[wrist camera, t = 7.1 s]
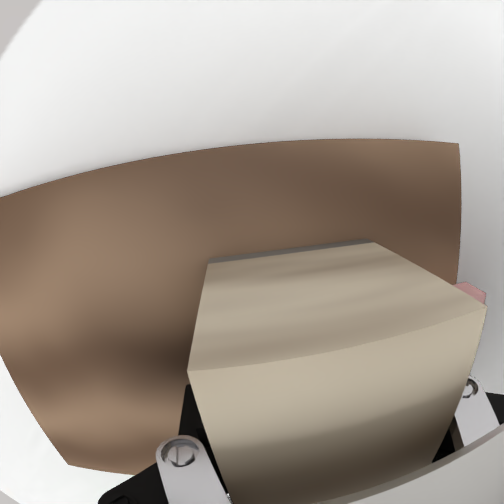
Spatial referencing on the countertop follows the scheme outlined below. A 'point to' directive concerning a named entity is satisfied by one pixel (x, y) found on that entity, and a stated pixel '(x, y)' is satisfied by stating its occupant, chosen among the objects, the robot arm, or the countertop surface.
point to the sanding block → (327, 368)
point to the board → (185, 268)
